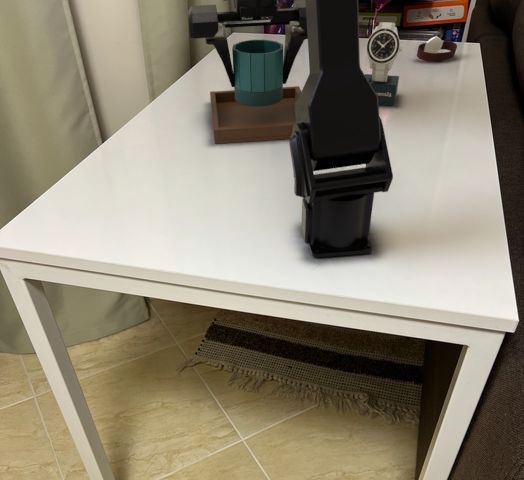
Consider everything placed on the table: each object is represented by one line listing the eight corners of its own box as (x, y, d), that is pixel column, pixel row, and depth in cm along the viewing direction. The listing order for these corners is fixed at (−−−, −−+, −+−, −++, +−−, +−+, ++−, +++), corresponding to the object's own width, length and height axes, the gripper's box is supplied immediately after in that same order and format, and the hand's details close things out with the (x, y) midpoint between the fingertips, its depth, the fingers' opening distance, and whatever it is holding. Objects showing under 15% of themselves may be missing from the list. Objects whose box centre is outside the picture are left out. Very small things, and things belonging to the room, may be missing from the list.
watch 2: (447, 53, 106) (451, 32, 104) (460, 60, 103) (464, 38, 101) (411, 57, 105) (414, 36, 103) (422, 64, 102) (426, 43, 99)
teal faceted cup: (267, 86, 86) (291, 100, 82) (226, 95, 84) (248, 110, 79) (267, 36, 81) (292, 48, 77) (223, 44, 79) (247, 57, 74)
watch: (357, 107, 87) (365, 30, 80) (364, 90, 93) (371, 16, 85) (393, 110, 86) (404, 32, 79) (397, 92, 92) (408, 17, 84)
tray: (298, 98, 91) (299, 86, 90) (314, 137, 80) (315, 123, 78) (211, 104, 90) (209, 91, 89) (214, 143, 79) (213, 130, 77)
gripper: (316, -57, 77) (312, 64, 88) (182, -50, 76) (195, 71, 87) (331, -43, 69) (324, 88, 80) (182, -36, 68) (196, 96, 79)
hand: (258, 84), depth 81 cm, fingers closed on teal faceted cup, 7 cm apart
